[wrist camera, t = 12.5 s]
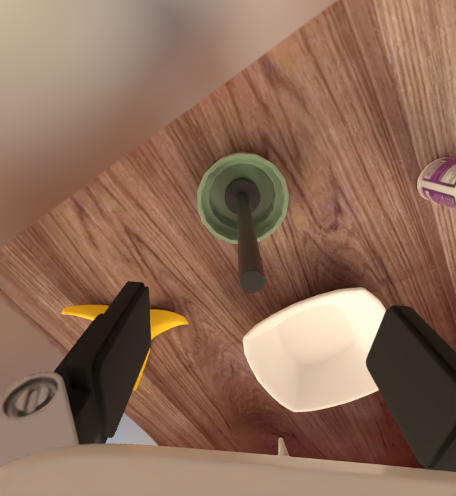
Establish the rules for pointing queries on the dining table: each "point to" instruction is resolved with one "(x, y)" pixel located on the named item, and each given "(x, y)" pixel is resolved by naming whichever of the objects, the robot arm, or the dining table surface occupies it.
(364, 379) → the bowl
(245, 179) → the disc-footed rod
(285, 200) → the green round dish
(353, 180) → the dining table surface
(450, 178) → the pill bottle
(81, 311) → the banana peel
